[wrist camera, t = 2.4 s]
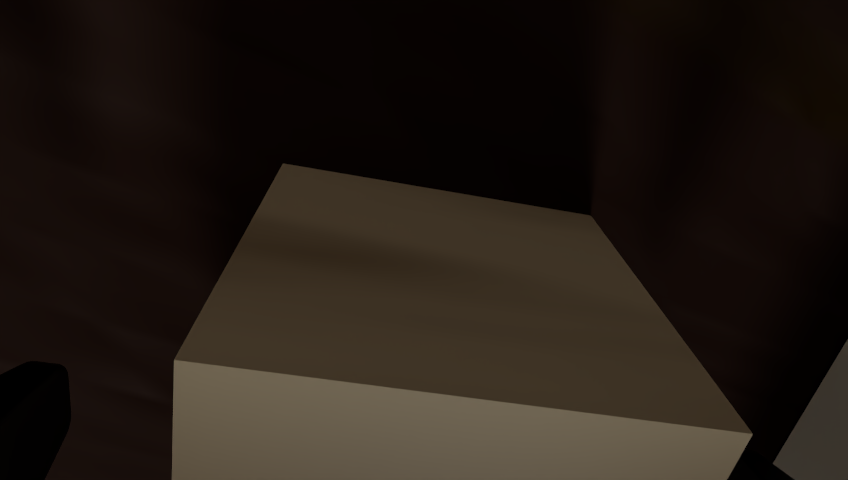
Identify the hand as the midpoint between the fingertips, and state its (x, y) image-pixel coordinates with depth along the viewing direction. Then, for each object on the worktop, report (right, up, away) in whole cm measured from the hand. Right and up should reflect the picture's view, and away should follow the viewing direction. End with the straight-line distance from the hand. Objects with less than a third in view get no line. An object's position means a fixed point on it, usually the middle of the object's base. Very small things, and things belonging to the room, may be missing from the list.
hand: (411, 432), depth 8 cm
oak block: (0, +1, +2) cm, 3 cm away
